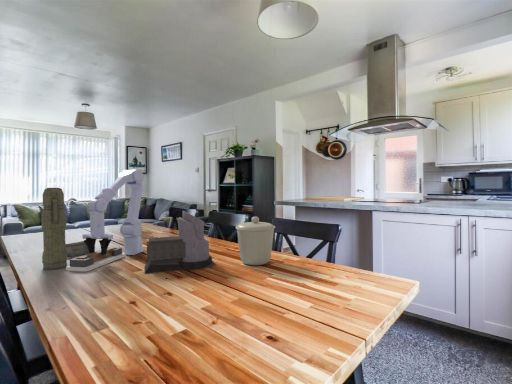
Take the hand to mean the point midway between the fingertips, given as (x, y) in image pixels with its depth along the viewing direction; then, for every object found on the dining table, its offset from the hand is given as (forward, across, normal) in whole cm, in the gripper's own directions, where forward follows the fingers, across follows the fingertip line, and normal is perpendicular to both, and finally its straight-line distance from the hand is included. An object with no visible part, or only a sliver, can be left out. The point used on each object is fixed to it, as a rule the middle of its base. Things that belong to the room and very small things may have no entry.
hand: (98, 254), depth 130 cm
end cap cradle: (+4, 0, 0) cm, 4 cm away
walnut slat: (+2, 0, 0) cm, 2 cm away
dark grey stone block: (+4, -25, +10) cm, 27 cm away
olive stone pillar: (+4, -14, -9) cm, 17 cm away
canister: (+4, +72, +12) cm, 73 cm away
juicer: (+4, +40, +1) cm, 41 cm away
